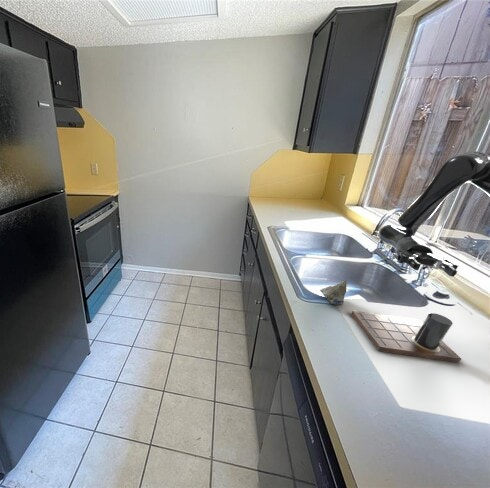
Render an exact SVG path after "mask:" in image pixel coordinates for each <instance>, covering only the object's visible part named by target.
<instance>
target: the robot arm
mask: <svg viewBox="0 0 490 488" xmlns="http://www.w3.org/2000/svg"><path fill="white" fill-rule="evenodd" d="M466 183H467V184H468V183H470V184H472V185H474V186H475V187H477V188H478V189H480V190H482V191H483V192H484V193H486V194H487V195H488V196H489V197H490V154H487V153H486V152H483V151H477V150H475V151H467V152H463V153H459V154H457V155H454V156H452V157H450V158H449V159H447V160H446V161H445V162H444V163H443V164H442V165H441V167H440V168H439V169H438V171H437V172H436V174H435V175H434V177H433V178H432V180H431V182H430V183H429V184H428V185H427V187H426V188H424V191H423V192H422V193H421V194H420V195H419V196H418V198H416V199H415V201H413V202H412V204H410V205H409V207H407V209H405V211H404V212H403V213H401V214H400V216H399V217H398V219H397V223H398V224H399V225H400V226H396V225H393V224H387V225H384V226H382V227H381V228H380V229H379V231H378V237H379V239H380V241H382V242H383V243H385V244H386V245H388V246H390V247H392V248H394V250H395V251H396V252H395V254H394V258H395V260H396V261H397V262H398V263H399V264H405V265H407V266H409V267H410V268H411V269H413V270H414V271H419V269H420V267H421V265H423V266H425V267H429V268H432V269H434V270H441V271H443V272H444V273H445V274H446V275H448V276H449V277H455V276H457V273H458V267H460V265H459V264H458V263H456V262H455V261H454V260H452V259H450V258H448V257H443V258H441V257H437V256H435V255H434V253H433V250H432V248H430V246H428V245H426V244H425V243H424V242H422V240H420V239H417V238H416V237H415V235H416V233H417V232H418V230H419V228H420V227H421V226H422V225H423V224H424V223H425V222H426V221H428V220H429V219H430V218H431V217H432V216H433V215H434V213H436V211H437V210H438V208H440V205H441V204H442V203H443V202H444V200H446V198H447V197H448V196H450V195H451V194H452V193H453V192H455V191H456V190H458V189H459V188H460V187H462V186H463V185H466Z"/></svg>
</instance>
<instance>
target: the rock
mask: <svg viewBox="0 0 490 488" xmlns="http://www.w3.org/2000/svg"><path fill="white" fill-rule="evenodd" d="M347 283H348V280H347V279H345V280H342V281H341V282H339V283H337V284H334V285H329V286H326V287H324V288H321V289H320V290H319V291H320V292H321V293H322V295H323V297H324V298H325V299H326V300H327V301H328V303H330V304H332V305H343V304H344V300H345V296H346V293H347Z"/></svg>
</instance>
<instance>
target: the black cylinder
mask: <svg viewBox="0 0 490 488" xmlns="http://www.w3.org/2000/svg"><path fill="white" fill-rule="evenodd" d="M422 323H423V324H422V326H421V328H420V330H419V331H418V333H417V335H416V337H415V338H414V340H415V341H416V343H418V344H419V345H420V346H422V347H424V348H427V349H430V350H436V349H437V348H438V346H439V345H440V343H441V341H443V340H444V338H445V337H446V335H447V333H448V332H449V330H450V329H451V327H452V326H453V321H452V320H451V319H450V318H448V317H447V316H445V315H441V314H439V313H435V312H429V313H428V314H427V316H426V318H425V319H424V320H423V322H422Z"/></svg>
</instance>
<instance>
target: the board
mask: <svg viewBox="0 0 490 488" xmlns="http://www.w3.org/2000/svg"><path fill="white" fill-rule="evenodd" d="M350 315H351V317H352V318H353V319H354V321H356V323H357V325H358V326H359V328H361V330H362V332H364V334H365V335H366V337H367V338H368V339H369V341H370V342H371V343H372V345H373V346H374V347H375V349H376V350H377V351H378V352H385V353H391V354H397V355H404V356H405V355H406V356H411V357H416V358H417V357H418V358H425V359H431V360H439V361H445V362H451V363H458V364H459V363H460V362H461V360H462V358H461V357H460V356H459V354H457V353H456V352H455V351H454V350H452V348H451V347H449V345H447V344H446V343H445V342H444V341H443V340H442V341H441V343H440V345H439V346H438V348H437V349H436V350H430V349H427V348H424V347H422V346H420V345H419V344H418V343H416V341H415V340H414V338H415V337H416V335H417V333H418V331H419V330H420V328H421V326H422V324H423V323H424V322H423V321H421V320H420V319H418V318H410V317H402V316H395V315H388V314H380V313H372V312H364V311H356V310H351V313H350Z"/></svg>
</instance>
